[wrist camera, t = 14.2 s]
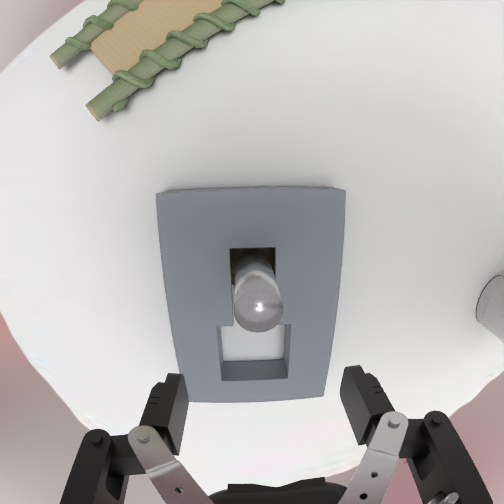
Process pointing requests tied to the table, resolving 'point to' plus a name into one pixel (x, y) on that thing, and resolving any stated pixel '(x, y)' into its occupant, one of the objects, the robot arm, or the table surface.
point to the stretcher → (148, 40)
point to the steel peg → (255, 289)
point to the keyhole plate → (220, 286)
